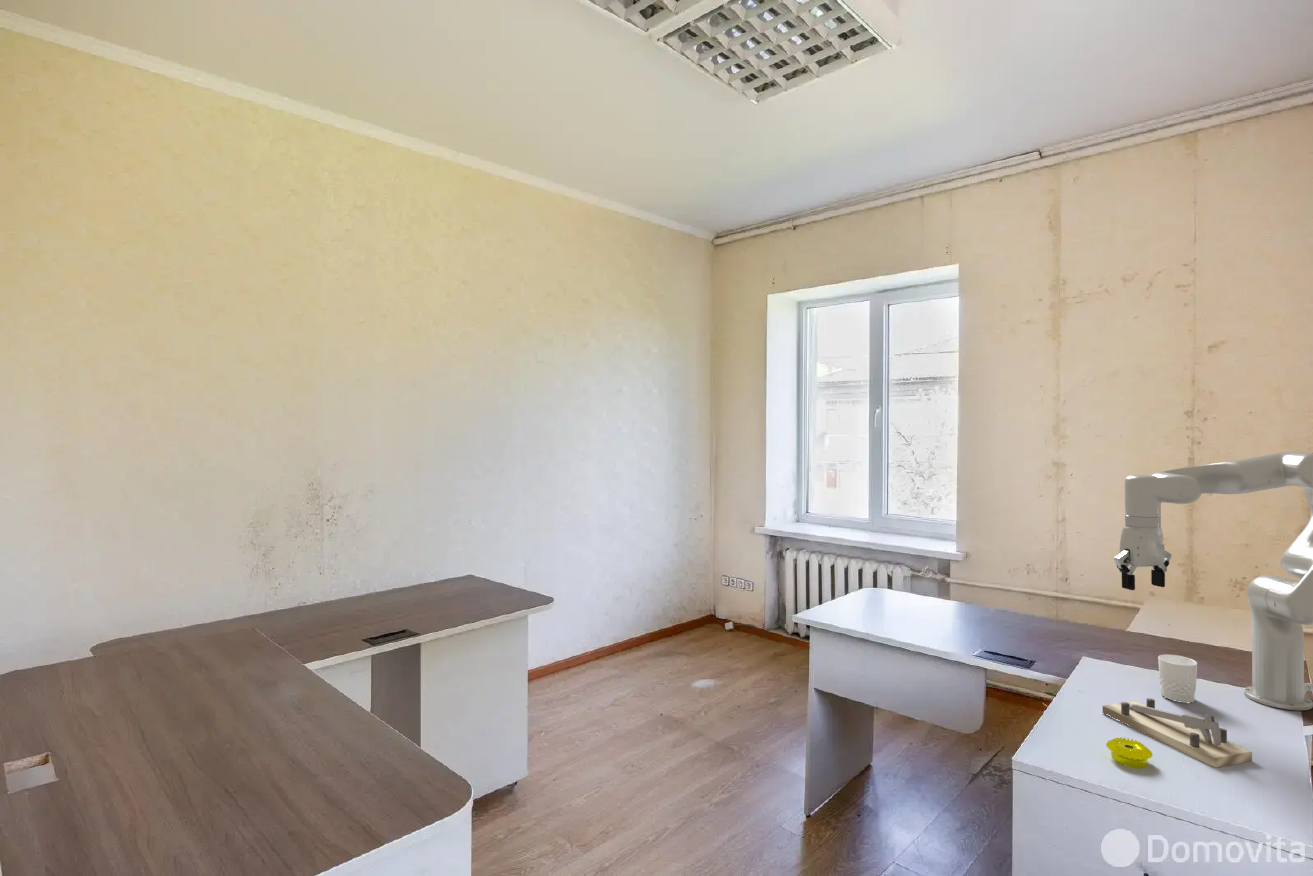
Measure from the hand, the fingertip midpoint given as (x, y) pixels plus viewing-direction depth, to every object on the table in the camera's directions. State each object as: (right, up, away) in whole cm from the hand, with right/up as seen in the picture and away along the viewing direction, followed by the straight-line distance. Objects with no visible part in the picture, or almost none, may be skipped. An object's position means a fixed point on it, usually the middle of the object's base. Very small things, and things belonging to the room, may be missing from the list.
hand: (1143, 587), depth 169 cm
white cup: (+7, -28, -2) cm, 29 cm away
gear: (-27, -30, -31) cm, 51 cm away
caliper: (-10, -27, -21) cm, 36 cm away
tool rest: (-10, -29, -21) cm, 37 cm away
